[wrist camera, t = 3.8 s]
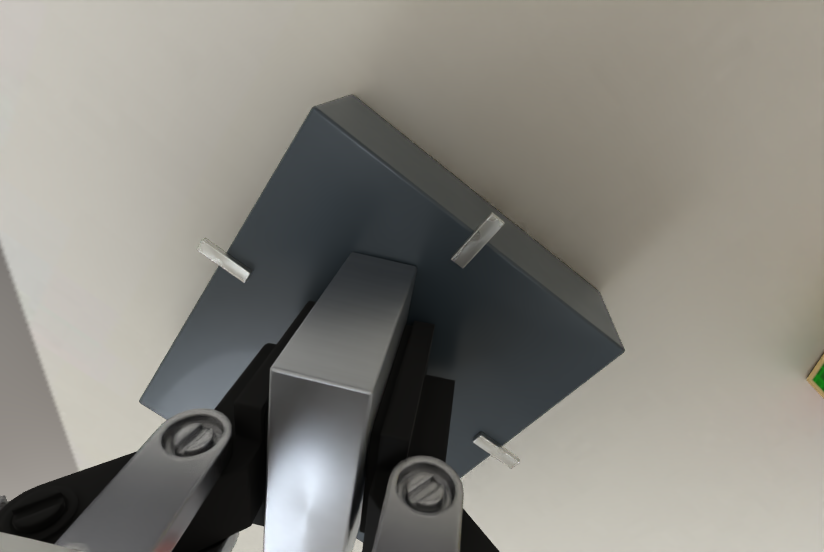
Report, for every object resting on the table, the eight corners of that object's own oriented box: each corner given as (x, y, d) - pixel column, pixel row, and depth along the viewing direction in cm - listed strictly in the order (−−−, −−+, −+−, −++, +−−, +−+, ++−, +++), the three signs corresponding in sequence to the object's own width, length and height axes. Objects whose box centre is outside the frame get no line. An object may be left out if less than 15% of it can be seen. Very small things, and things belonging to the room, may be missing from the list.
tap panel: (345, 57, 12) (299, 60, 9) (632, 290, 13) (668, 354, 11) (178, 338, 17) (116, 395, 14) (400, 484, 19) (383, 561, 16)
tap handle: (351, 250, 11) (261, 378, 7) (417, 266, 11) (368, 404, 7) (328, 433, 14) (255, 605, 9) (381, 447, 14) (330, 627, 9)
